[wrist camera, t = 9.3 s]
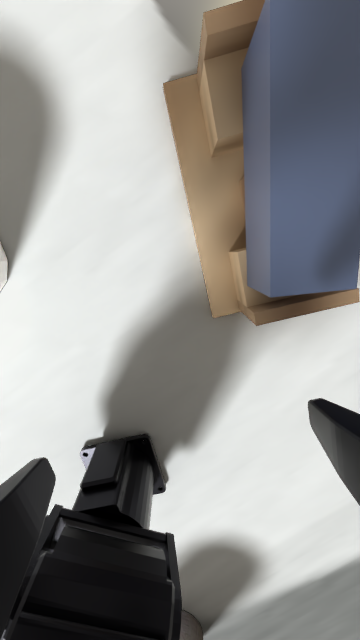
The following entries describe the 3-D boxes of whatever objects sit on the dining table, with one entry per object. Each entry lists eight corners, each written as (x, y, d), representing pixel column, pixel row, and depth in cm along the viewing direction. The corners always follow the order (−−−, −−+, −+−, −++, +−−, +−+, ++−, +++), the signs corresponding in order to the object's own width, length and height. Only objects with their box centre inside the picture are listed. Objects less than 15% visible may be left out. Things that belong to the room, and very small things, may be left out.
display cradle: (323, 45, 15) (391, -52, 10) (339, 285, 19) (394, 297, 14) (163, 91, 16) (157, 20, 11) (212, 315, 20) (223, 336, 15)
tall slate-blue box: (311, 279, 15) (356, 288, 12) (247, 285, 15) (270, 297, 12) (321, 59, 12) (385, -27, 9) (241, 68, 12) (269, -13, 9)
